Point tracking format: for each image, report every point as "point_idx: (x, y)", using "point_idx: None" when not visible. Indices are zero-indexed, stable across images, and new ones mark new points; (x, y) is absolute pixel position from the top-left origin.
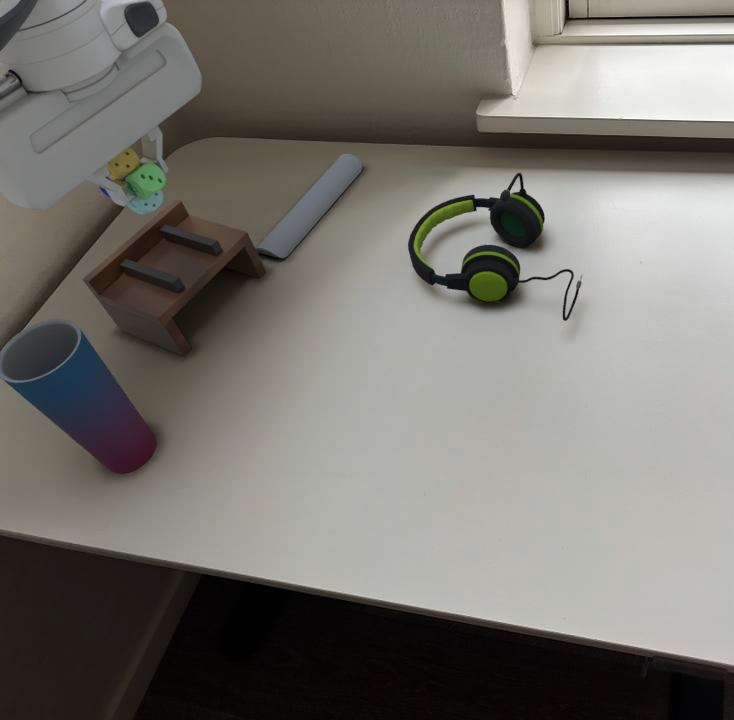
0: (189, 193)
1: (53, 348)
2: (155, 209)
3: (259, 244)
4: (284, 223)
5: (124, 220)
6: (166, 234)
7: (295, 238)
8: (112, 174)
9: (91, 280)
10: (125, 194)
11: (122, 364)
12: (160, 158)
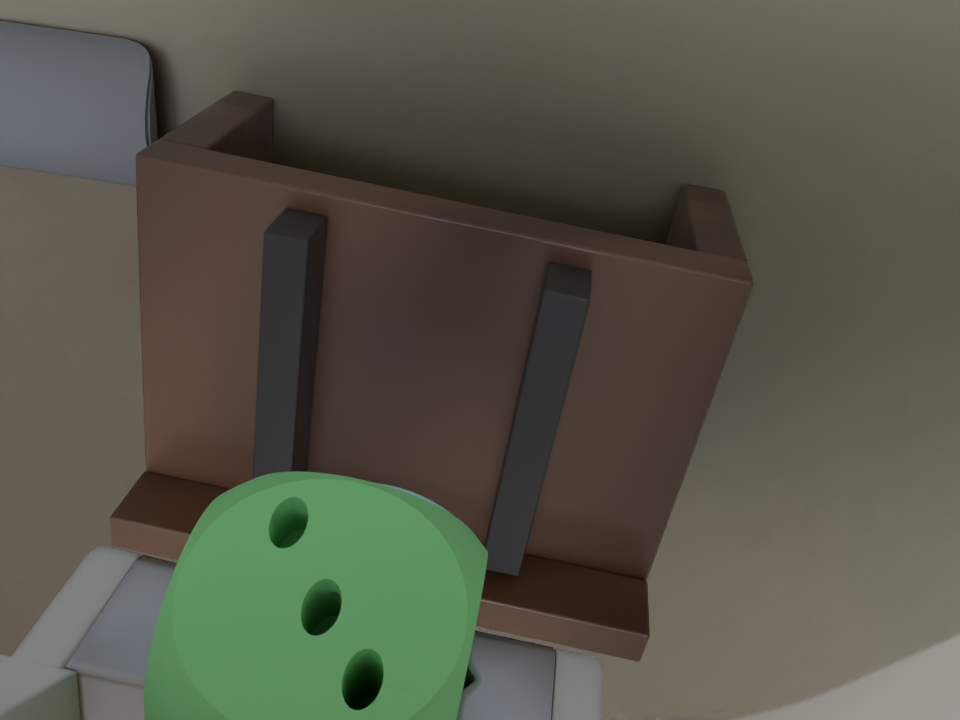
0: (13, 564)
1: None
2: (410, 492)
3: (125, 176)
4: None
5: None
6: None
7: (28, 40)
8: None
9: (637, 628)
10: (550, 715)
11: (780, 395)
12: (37, 652)
